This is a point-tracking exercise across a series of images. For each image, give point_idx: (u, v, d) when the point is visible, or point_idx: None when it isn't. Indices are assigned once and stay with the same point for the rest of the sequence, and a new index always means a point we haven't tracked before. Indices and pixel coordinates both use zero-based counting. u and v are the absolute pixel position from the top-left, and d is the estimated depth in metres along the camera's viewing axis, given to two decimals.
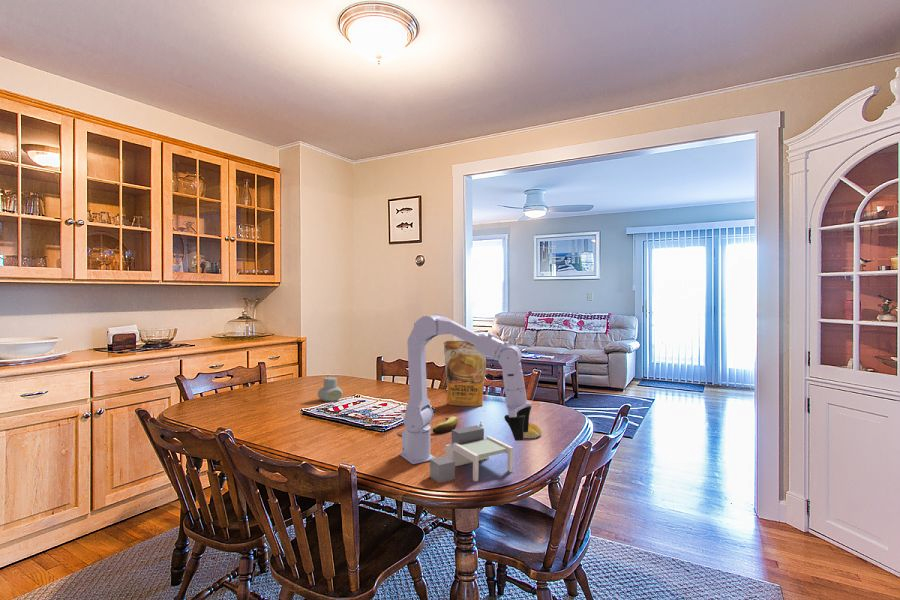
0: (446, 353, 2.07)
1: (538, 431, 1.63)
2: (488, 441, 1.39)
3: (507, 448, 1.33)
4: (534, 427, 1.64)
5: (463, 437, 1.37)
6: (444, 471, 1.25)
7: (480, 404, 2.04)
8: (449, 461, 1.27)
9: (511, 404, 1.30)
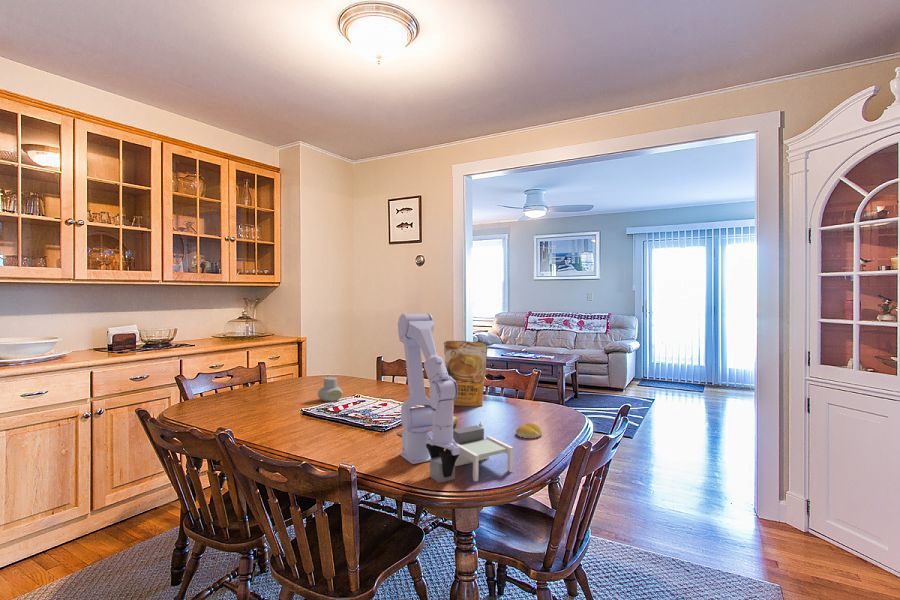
0: (446, 353, 2.07)
1: (539, 431, 1.63)
2: (488, 441, 1.39)
3: (507, 448, 1.33)
4: (534, 427, 1.64)
5: (463, 437, 1.37)
6: None
7: (480, 404, 2.04)
8: None
9: None
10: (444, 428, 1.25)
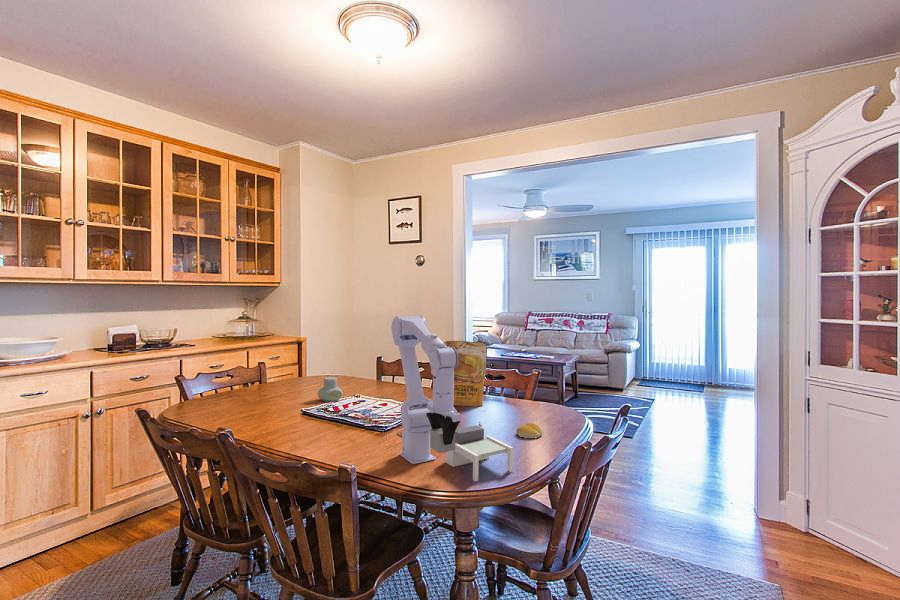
0: None
1: (539, 431, 1.63)
2: (488, 441, 1.39)
3: (507, 448, 1.33)
4: (535, 427, 1.64)
5: (463, 437, 1.37)
6: None
7: (480, 404, 2.04)
8: None
9: None
10: (444, 395, 1.24)
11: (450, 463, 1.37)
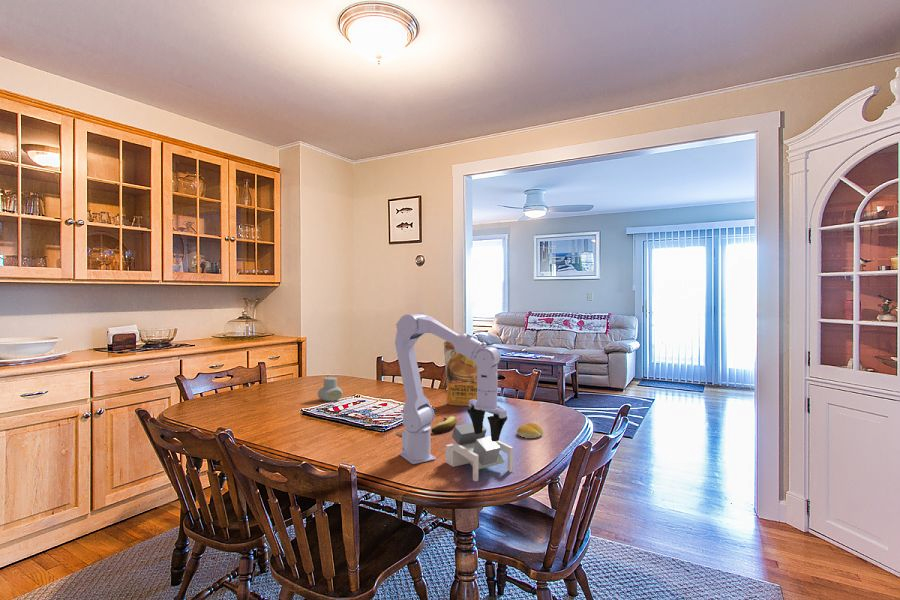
0: (446, 353, 2.07)
1: (540, 431, 1.63)
2: None
3: (507, 448, 1.33)
4: (535, 427, 1.64)
5: (465, 437, 1.37)
6: (489, 455, 1.29)
7: None
8: (495, 446, 1.30)
9: None
10: (490, 393, 1.29)
11: (450, 463, 1.37)
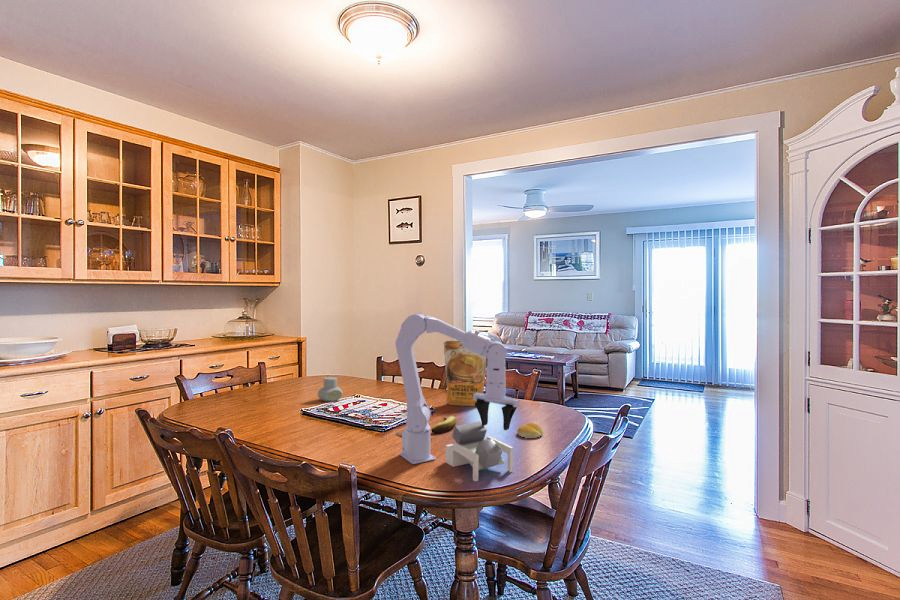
0: (446, 353, 2.07)
1: (540, 431, 1.63)
2: None
3: (507, 448, 1.33)
4: (536, 427, 1.64)
5: (465, 437, 1.37)
6: (491, 459, 1.28)
7: None
8: (497, 449, 1.29)
9: None
10: (501, 385, 1.37)
11: (450, 463, 1.37)
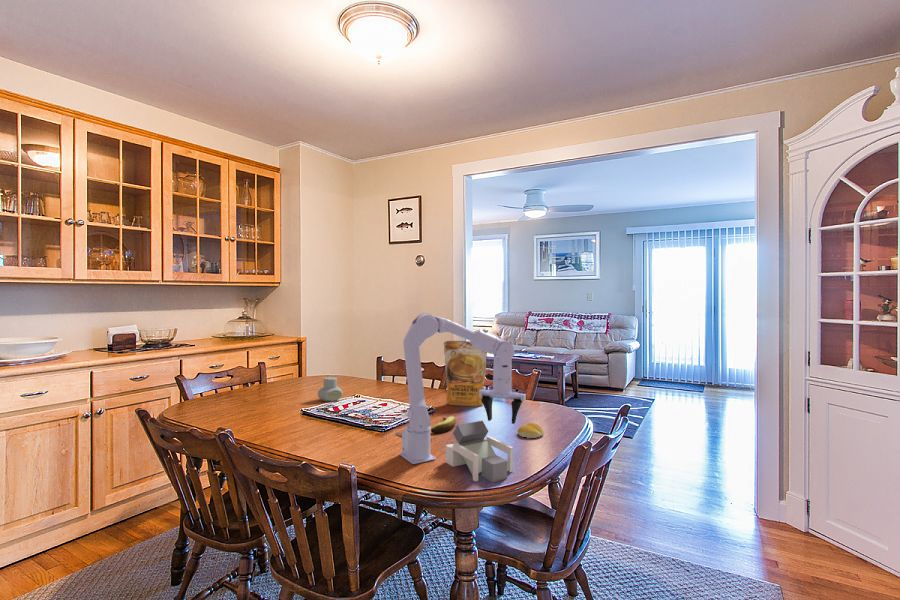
0: (446, 353, 2.07)
1: (541, 431, 1.63)
2: (488, 445, 1.39)
3: (507, 448, 1.33)
4: (536, 427, 1.64)
5: (466, 438, 1.36)
6: None
7: (480, 404, 2.04)
8: (503, 476, 1.27)
9: None
10: (509, 381, 1.43)
11: (450, 463, 1.37)
